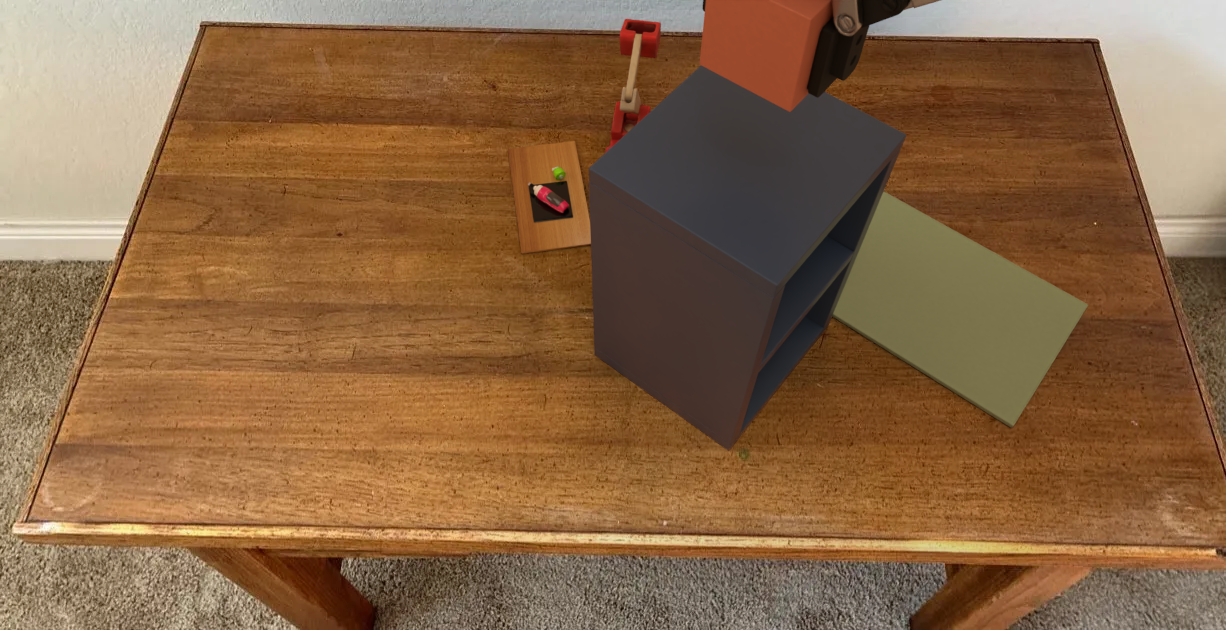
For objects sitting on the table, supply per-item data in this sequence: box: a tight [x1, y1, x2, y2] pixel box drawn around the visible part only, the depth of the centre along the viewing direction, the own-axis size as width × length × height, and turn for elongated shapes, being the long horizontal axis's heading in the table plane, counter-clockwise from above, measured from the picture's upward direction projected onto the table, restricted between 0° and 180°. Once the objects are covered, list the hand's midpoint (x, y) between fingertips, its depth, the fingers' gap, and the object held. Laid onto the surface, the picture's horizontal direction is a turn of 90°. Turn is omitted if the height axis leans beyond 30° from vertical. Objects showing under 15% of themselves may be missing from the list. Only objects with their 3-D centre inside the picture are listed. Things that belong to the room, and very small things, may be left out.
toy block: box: [699, 0, 833, 112], centre depth 42 cm, size 6×6×6 cm
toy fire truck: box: [604, 18, 662, 154], centre depth 76 cm, size 3×14×10 cm, turn 171°
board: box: [507, 140, 591, 255], centre depth 76 cm, size 6×12×2 cm, turn 9°
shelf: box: [588, 65, 907, 452], centre depth 60 cm, size 13×14×22 cm
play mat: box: [832, 190, 1089, 429], centre depth 71 cm, size 20×14×1 cm
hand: (775, 50), depth 44 cm, fingers closed on toy block, 5 cm apart
